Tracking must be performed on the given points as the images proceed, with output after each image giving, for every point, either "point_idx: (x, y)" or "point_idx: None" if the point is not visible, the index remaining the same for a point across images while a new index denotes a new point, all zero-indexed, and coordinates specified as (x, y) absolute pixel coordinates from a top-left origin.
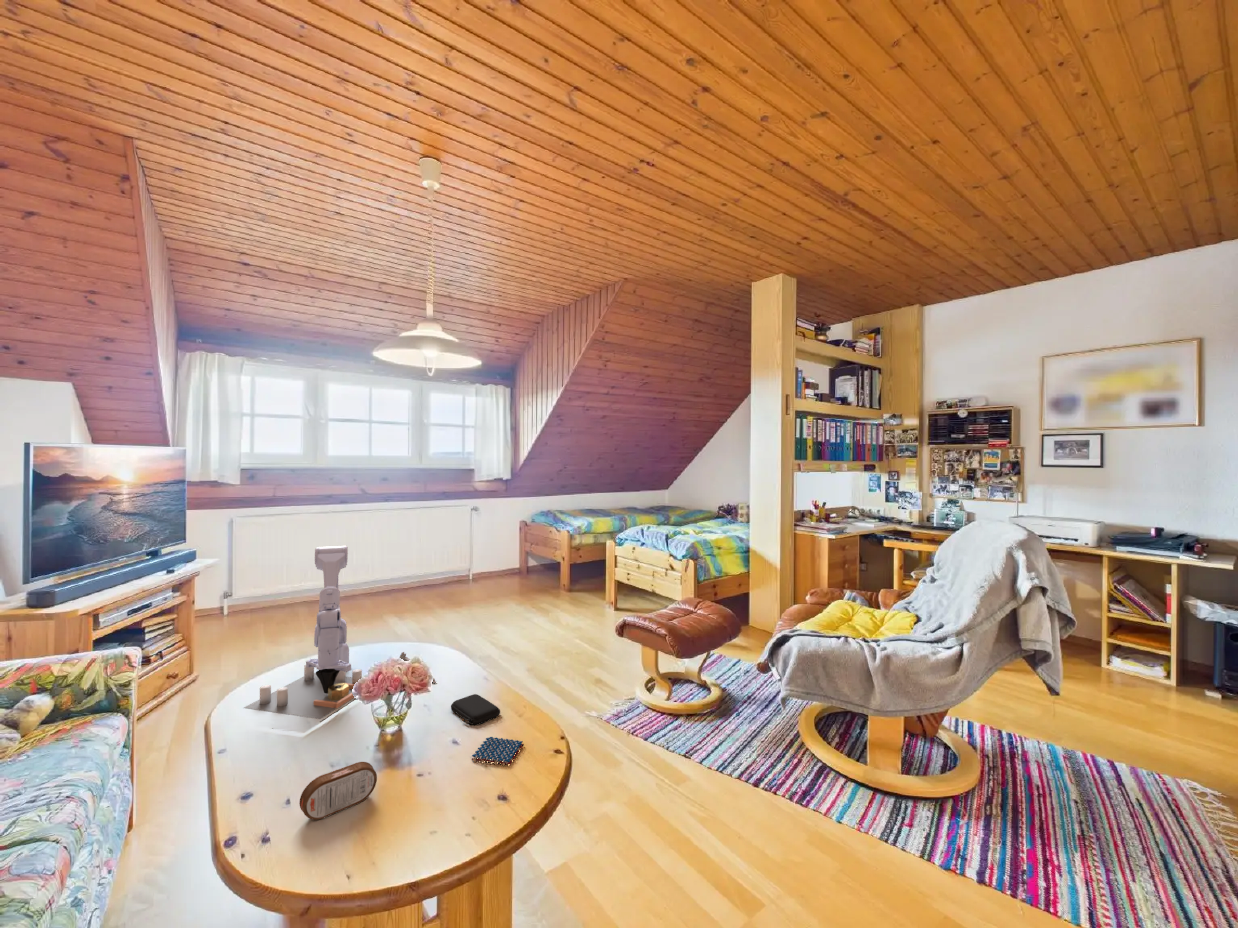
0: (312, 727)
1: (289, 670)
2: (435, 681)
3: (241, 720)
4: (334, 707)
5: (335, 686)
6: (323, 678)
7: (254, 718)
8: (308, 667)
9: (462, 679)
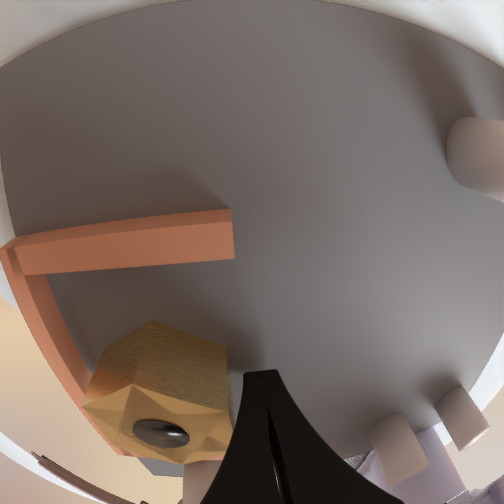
0: (23, 13)
1: (499, 382)
2: (36, 458)
3: (489, 7)
4: (29, 234)
5: (186, 433)
6: (289, 490)
7: (468, 16)
8: (500, 478)
9: (20, 457)
